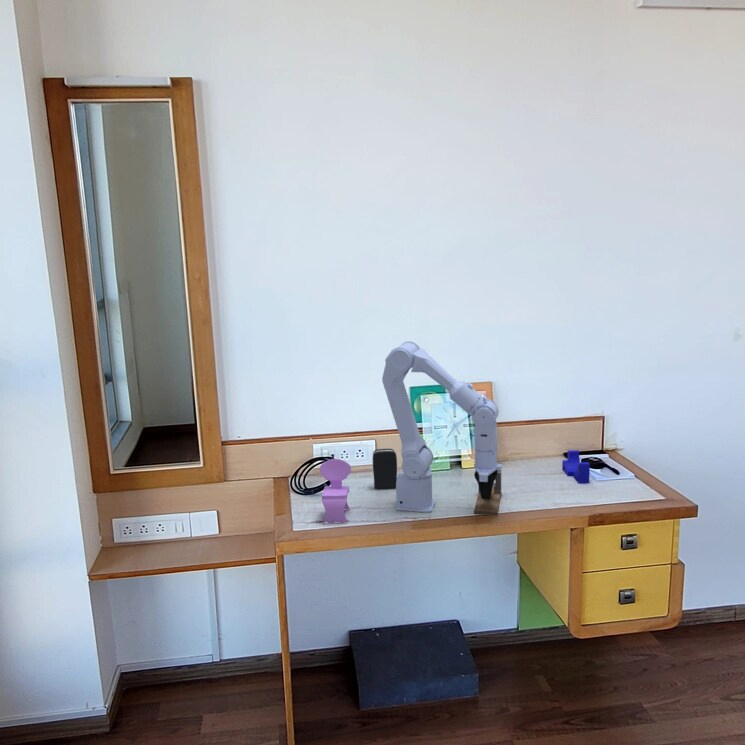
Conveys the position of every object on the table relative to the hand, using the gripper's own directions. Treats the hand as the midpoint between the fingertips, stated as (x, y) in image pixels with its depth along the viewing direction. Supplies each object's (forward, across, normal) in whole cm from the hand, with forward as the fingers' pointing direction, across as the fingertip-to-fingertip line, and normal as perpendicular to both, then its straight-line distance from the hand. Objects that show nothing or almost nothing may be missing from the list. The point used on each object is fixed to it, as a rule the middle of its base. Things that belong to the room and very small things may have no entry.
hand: (486, 498), depth 181 cm
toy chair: (+4, -9, +38) cm, 39 cm away
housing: (+3, +12, 0) cm, 12 cm away
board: (+4, +6, 0) cm, 7 cm away
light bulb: (+1, +7, 0) cm, 7 cm away
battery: (+4, +13, +30) cm, 33 cm away
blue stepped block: (+4, +30, -23) cm, 38 cm away
